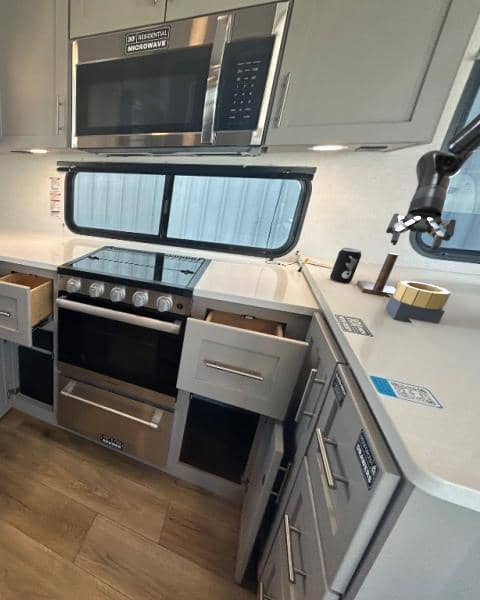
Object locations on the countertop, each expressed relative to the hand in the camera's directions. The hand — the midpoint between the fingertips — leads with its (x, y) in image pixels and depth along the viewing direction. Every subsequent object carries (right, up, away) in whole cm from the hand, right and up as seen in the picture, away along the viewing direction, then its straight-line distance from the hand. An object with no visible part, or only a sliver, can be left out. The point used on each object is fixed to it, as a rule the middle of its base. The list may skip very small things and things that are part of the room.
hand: (413, 246), depth 98 cm
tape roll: (-4, -16, -5) cm, 18 cm away
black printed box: (-2, -9, +26) cm, 27 cm away
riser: (-5, -21, -3) cm, 22 cm away
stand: (+4, -13, +17) cm, 21 cm away
